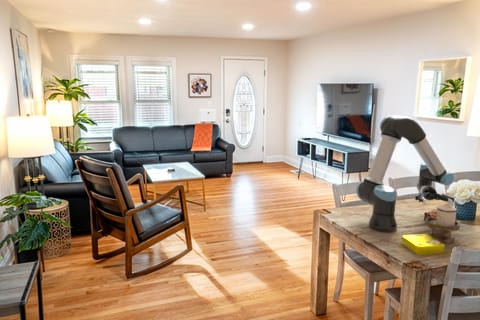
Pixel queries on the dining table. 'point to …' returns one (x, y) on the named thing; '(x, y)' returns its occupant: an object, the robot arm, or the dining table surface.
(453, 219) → the teacup with lid
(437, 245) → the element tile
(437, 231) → the walnut pedestal
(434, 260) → the dining table surface
